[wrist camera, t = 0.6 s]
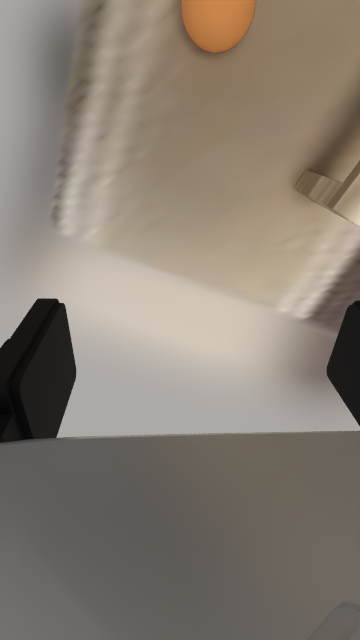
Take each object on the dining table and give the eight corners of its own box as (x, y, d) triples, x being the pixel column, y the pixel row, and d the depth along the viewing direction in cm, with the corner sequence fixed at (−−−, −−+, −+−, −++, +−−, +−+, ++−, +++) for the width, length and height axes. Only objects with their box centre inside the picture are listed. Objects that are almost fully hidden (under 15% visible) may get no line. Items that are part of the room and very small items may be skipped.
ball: (201, -52, 25) (211, -92, 20) (260, -3, 26) (281, -29, 22) (167, 31, 27) (168, 13, 22) (223, 72, 29) (235, 63, 24)
